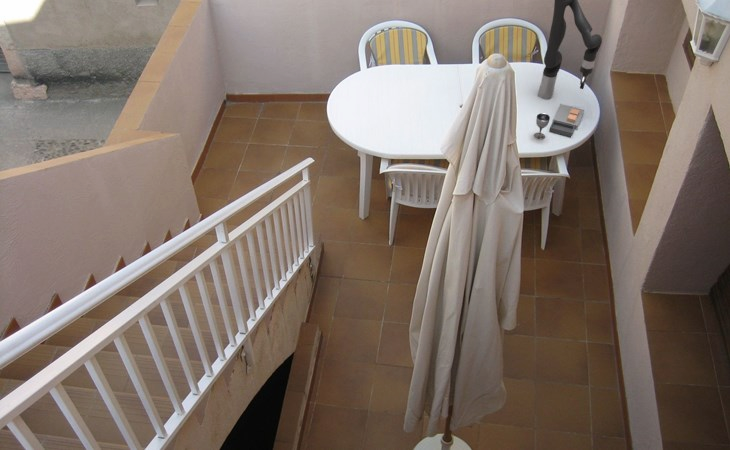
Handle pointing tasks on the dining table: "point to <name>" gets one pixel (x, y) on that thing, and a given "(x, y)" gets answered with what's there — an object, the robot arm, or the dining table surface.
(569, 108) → the slate ledge
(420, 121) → the dining table surface
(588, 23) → the robot arm
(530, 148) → the dining table surface
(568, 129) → the tray
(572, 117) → the tile front
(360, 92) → the dining table surface
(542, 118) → the wine glass
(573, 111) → the tile rear
